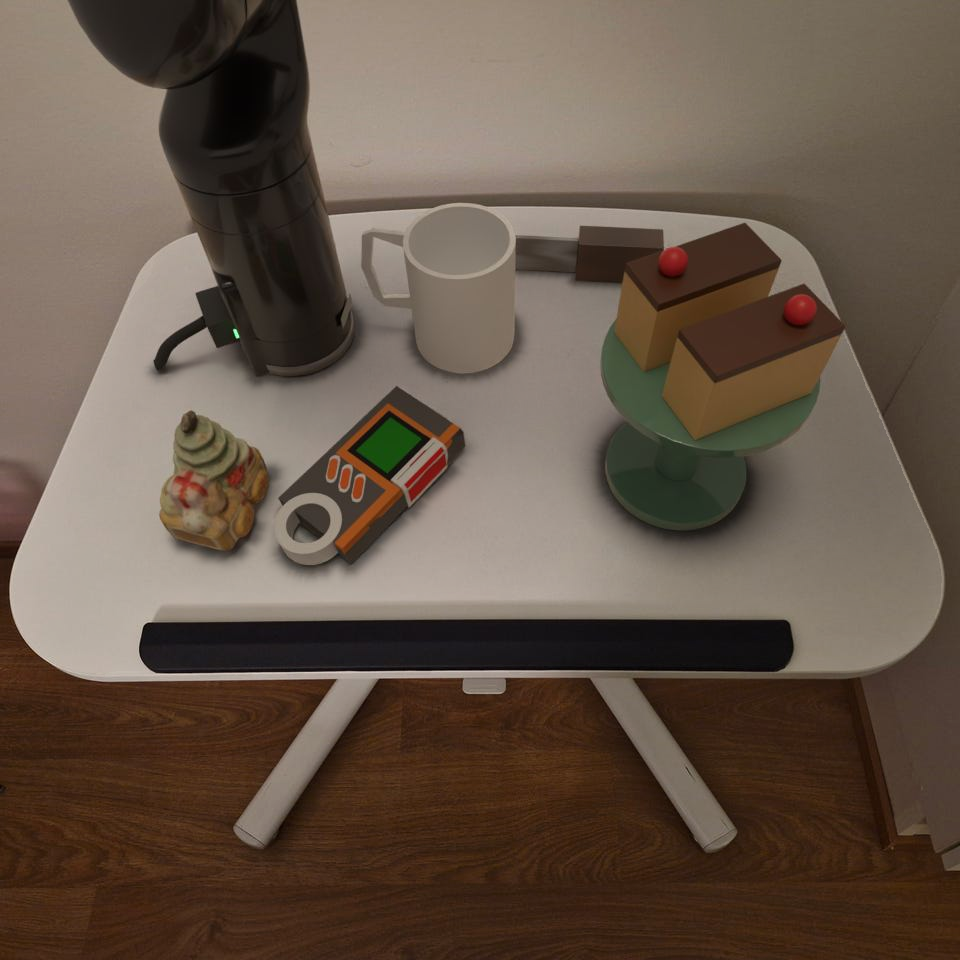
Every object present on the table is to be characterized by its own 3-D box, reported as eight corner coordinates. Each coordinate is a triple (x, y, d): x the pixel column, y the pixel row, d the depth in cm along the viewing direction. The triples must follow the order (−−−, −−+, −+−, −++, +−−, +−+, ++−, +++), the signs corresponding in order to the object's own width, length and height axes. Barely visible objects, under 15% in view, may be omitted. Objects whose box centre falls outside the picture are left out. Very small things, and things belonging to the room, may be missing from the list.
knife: (655, 265, 69) (663, 229, 66) (656, 284, 68) (664, 248, 64) (486, 257, 70) (485, 220, 67) (484, 275, 69) (482, 239, 66)
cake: (694, 441, 44) (723, 357, 38) (613, 332, 49) (628, 243, 43) (811, 393, 46) (856, 306, 40) (722, 292, 50) (751, 201, 45)
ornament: (248, 562, 54) (201, 484, 46) (163, 552, 55) (102, 473, 46) (279, 467, 59) (242, 380, 50) (201, 459, 59) (151, 371, 51)
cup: (386, 289, 68) (369, 192, 60) (521, 306, 67) (524, 208, 58) (360, 360, 64) (338, 265, 56) (504, 379, 63) (504, 285, 54)
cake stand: (641, 578, 53) (674, 482, 43) (553, 436, 59) (563, 325, 49) (801, 508, 55) (867, 402, 45) (700, 380, 62) (738, 262, 52)
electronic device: (250, 519, 53) (399, 379, 59) (263, 538, 56) (404, 402, 61) (319, 576, 51) (467, 424, 56) (329, 593, 53) (470, 446, 59)
